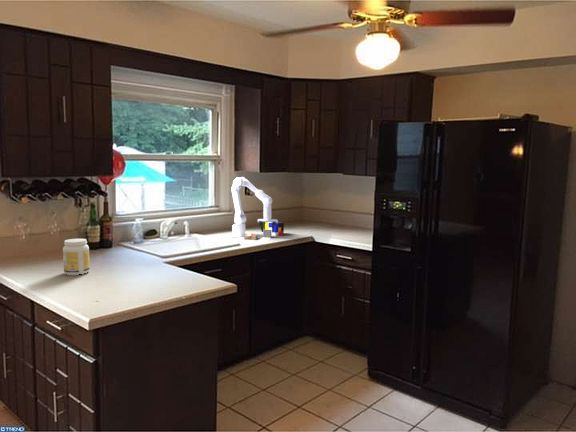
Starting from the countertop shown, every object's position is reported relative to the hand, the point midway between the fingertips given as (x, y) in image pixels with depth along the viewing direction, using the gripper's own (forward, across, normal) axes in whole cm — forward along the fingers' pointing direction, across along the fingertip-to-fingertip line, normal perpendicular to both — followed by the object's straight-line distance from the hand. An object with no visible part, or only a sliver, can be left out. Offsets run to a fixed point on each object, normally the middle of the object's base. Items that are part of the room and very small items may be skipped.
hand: (267, 231), depth 344 cm
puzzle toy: (+5, +3, +13) cm, 14 cm away
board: (+5, 0, -6) cm, 8 cm away
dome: (+4, -11, -8) cm, 14 cm away
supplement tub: (+4, -76, -119) cm, 141 cm away
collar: (+5, -11, -8) cm, 14 cm away
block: (+4, 0, 0) cm, 4 cm away
